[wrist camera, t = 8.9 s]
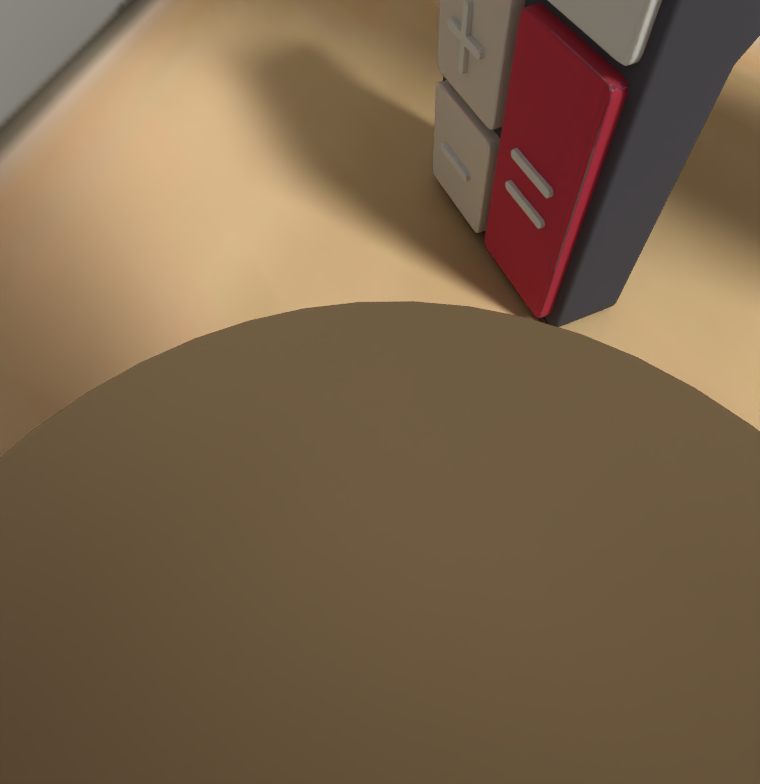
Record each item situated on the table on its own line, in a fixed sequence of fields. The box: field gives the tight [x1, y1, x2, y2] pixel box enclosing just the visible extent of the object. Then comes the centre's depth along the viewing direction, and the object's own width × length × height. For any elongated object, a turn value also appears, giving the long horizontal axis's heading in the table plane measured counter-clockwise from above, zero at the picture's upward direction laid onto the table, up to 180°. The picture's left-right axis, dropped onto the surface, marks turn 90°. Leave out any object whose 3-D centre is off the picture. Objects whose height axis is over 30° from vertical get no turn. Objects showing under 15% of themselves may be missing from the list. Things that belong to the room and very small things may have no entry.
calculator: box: [433, 0, 760, 327], centre depth 20 cm, size 11×4×15 cm, turn 23°
